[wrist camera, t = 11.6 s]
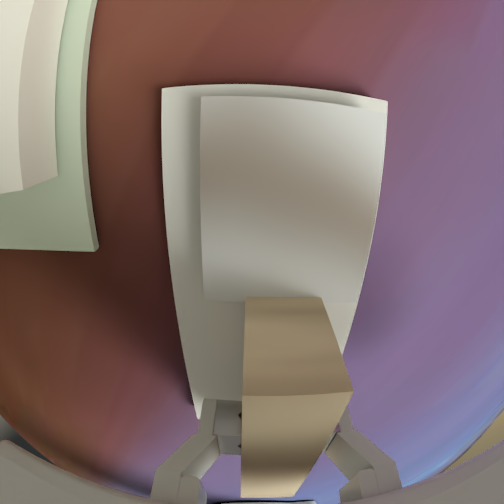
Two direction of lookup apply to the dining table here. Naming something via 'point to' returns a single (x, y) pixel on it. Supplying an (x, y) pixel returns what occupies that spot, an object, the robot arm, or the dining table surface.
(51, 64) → the tile
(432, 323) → the dining table surface
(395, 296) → the dining table surface
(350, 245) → the turner
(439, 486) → the robot arm
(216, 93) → the pad
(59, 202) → the mat
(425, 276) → the dining table surface
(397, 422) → the dining table surface
